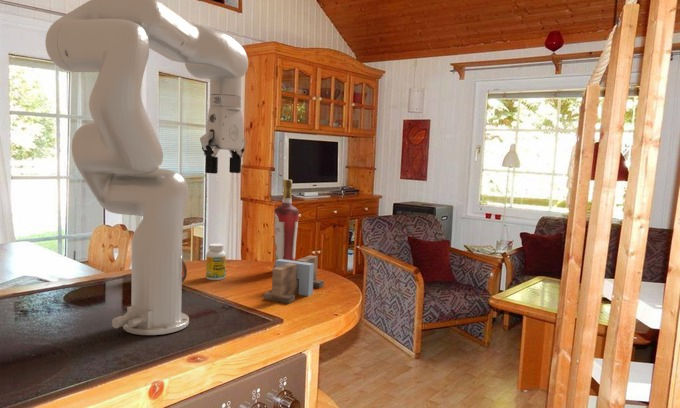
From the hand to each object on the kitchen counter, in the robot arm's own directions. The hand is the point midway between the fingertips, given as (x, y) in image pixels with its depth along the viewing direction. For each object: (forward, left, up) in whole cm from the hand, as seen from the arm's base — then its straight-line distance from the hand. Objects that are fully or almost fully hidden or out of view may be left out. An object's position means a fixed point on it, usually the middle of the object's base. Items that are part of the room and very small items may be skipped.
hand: (223, 173), depth 128 cm
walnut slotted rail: (+9, -17, -30) cm, 36 cm away
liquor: (+28, -3, -30) cm, 41 cm away
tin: (-3, +17, -31) cm, 35 cm away
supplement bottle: (+10, +9, -31) cm, 33 cm away
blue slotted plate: (+9, -16, -30) cm, 35 cm away
